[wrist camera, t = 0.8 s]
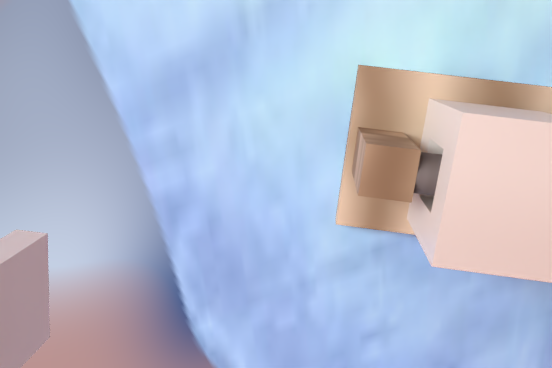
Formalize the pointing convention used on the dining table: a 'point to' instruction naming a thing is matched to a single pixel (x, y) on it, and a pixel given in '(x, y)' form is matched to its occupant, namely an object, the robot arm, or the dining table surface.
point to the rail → (406, 139)
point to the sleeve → (487, 190)
